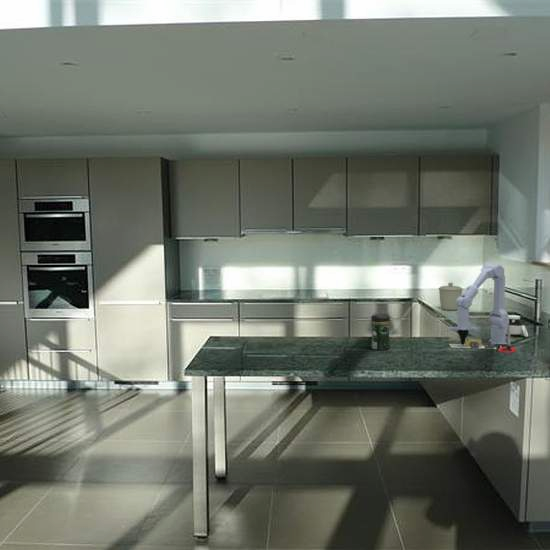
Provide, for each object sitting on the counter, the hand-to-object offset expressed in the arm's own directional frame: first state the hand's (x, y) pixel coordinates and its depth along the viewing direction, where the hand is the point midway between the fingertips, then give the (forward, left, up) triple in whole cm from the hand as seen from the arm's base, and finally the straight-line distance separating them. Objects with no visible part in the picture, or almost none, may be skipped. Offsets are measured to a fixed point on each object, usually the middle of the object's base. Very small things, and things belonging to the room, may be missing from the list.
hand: (462, 344), depth 301 cm
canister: (-135, +11, -2) cm, 135 cm away
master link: (0, +5, -1) cm, 5 cm away
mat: (0, +5, -1) cm, 5 cm away
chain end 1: (0, +6, -1) cm, 6 cm away
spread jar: (-34, +36, -2) cm, 50 cm away
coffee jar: (+11, -43, -2) cm, 45 cm away
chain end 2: (0, +13, -1) cm, 13 cm away
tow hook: (+8, +21, -2) cm, 22 cm away
